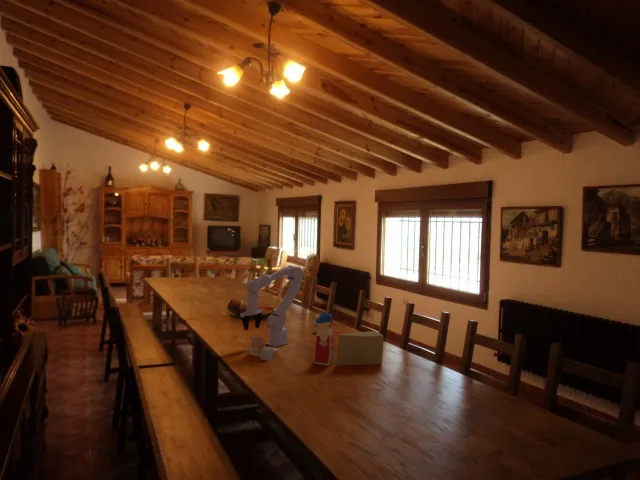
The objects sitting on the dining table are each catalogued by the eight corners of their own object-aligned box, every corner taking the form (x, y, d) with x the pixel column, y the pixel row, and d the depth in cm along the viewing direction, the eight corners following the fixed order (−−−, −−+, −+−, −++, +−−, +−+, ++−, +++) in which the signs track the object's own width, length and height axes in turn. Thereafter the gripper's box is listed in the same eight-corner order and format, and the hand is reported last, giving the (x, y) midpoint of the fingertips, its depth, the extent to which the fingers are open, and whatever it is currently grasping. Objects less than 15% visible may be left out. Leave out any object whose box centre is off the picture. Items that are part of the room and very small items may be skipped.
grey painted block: (265, 357, 239) (265, 347, 239) (272, 358, 237) (273, 348, 237) (260, 359, 235) (260, 349, 235) (267, 360, 233) (268, 350, 233)
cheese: (340, 368, 225) (342, 337, 224) (333, 362, 234) (334, 332, 233) (383, 365, 233) (384, 334, 232) (373, 359, 242) (375, 329, 241)
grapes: (330, 329, 302) (330, 310, 301) (334, 332, 295) (335, 312, 295) (312, 330, 297) (313, 310, 297) (316, 332, 291) (317, 313, 291)
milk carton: (335, 360, 237) (336, 320, 236) (329, 366, 228) (331, 324, 227) (317, 358, 240) (319, 318, 239) (311, 363, 231) (312, 322, 230)
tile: (269, 347, 256) (269, 346, 256) (278, 350, 251) (278, 349, 251) (259, 349, 250) (259, 348, 250) (268, 352, 246) (268, 351, 246)
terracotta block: (263, 346, 243) (264, 336, 243) (256, 348, 240) (257, 338, 240) (257, 344, 246) (258, 335, 246) (250, 346, 243) (251, 336, 243)
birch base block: (256, 351, 248) (257, 344, 247) (265, 354, 244) (266, 346, 244) (248, 354, 243) (249, 346, 242) (257, 356, 239) (258, 348, 239)
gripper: (257, 300, 261) (256, 325, 262) (236, 303, 250) (236, 329, 251) (266, 302, 257) (265, 327, 257) (245, 305, 246) (245, 332, 246)
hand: (251, 328), depth 254 cm, fingers open, 7 cm apart
